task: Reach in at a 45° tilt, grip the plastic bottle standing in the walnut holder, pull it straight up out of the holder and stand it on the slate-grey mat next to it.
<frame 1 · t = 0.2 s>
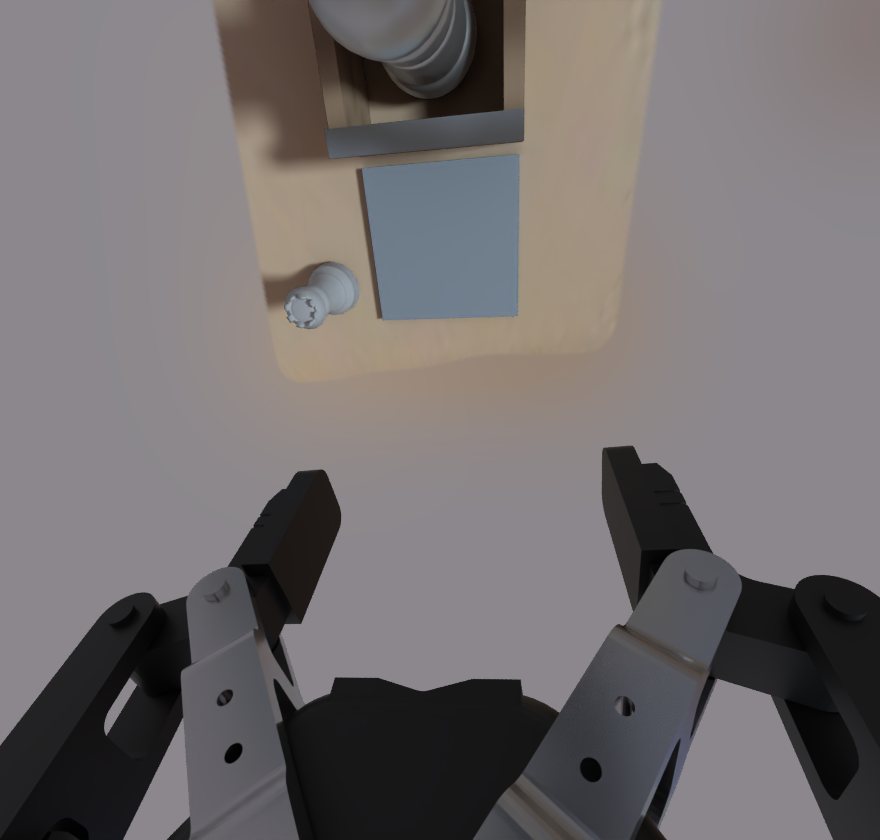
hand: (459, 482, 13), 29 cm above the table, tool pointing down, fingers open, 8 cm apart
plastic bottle: (432, 44, 31), resting in holder
mat: (444, 244, 37), on the table
rook chess piece: (337, 286, 40), on the table
holder: (431, 44, 31), on the table
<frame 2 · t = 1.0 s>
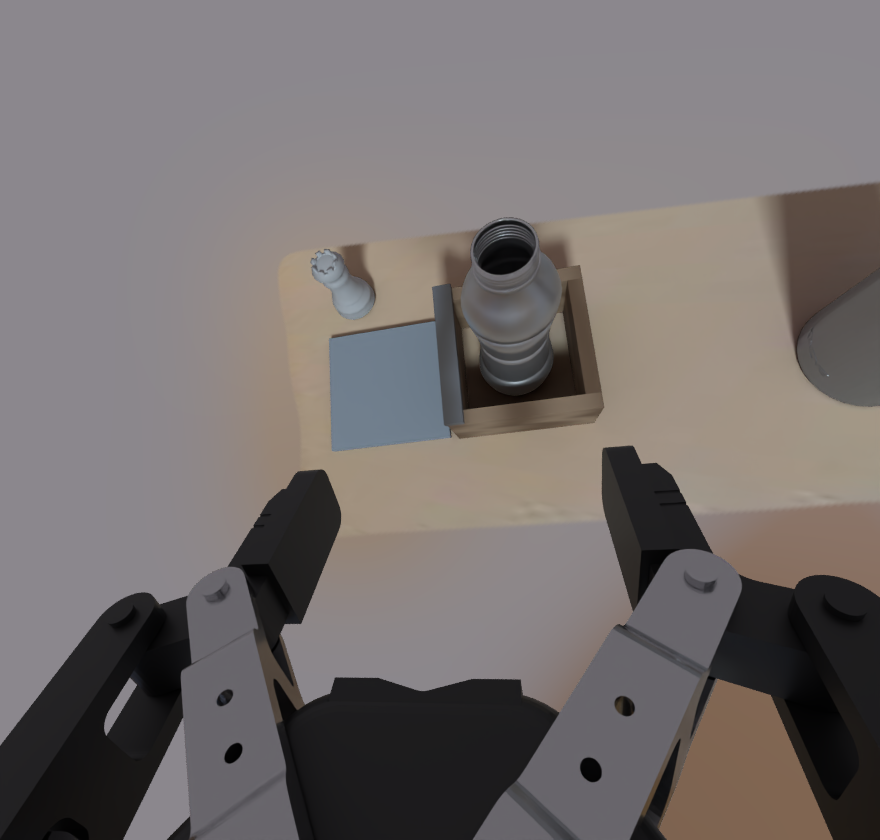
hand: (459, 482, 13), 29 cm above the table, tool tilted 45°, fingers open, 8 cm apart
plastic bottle: (517, 368, 43), resting in holder
mat: (388, 386, 45), on the table
rook chess piece: (357, 303, 48), on the table
holder: (517, 368, 43), on the table
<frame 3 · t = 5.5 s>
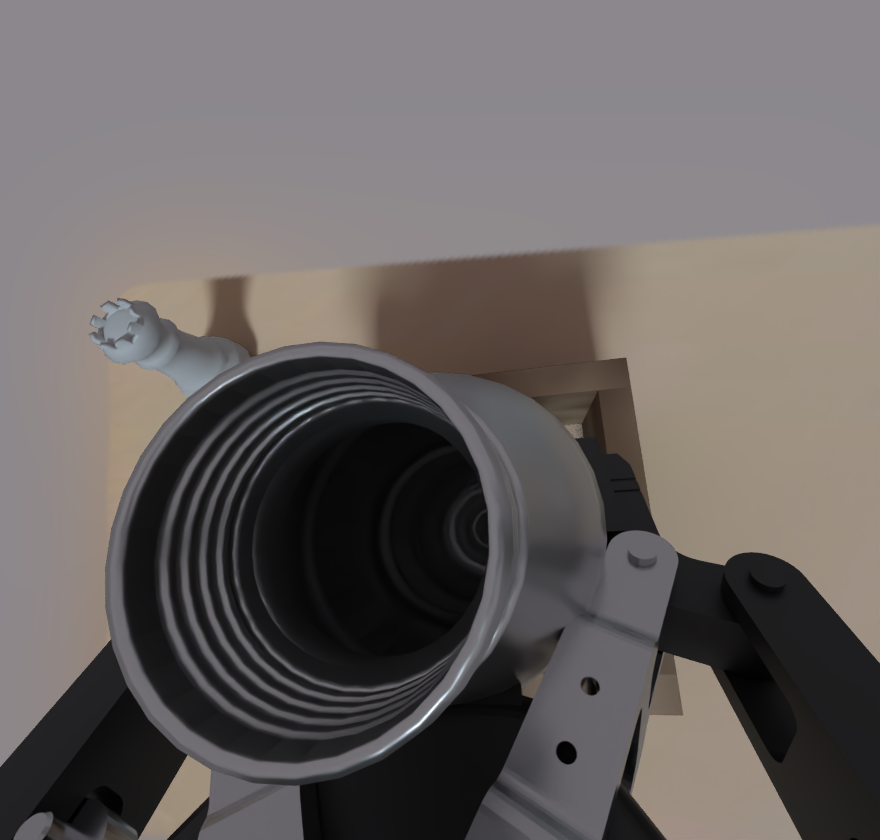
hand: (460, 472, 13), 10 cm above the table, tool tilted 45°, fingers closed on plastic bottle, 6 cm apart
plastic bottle: (493, 527, 23), resting in holder, touching gripper
rook chess piece: (228, 378, 28), on the table
holder: (492, 527, 23), on the table
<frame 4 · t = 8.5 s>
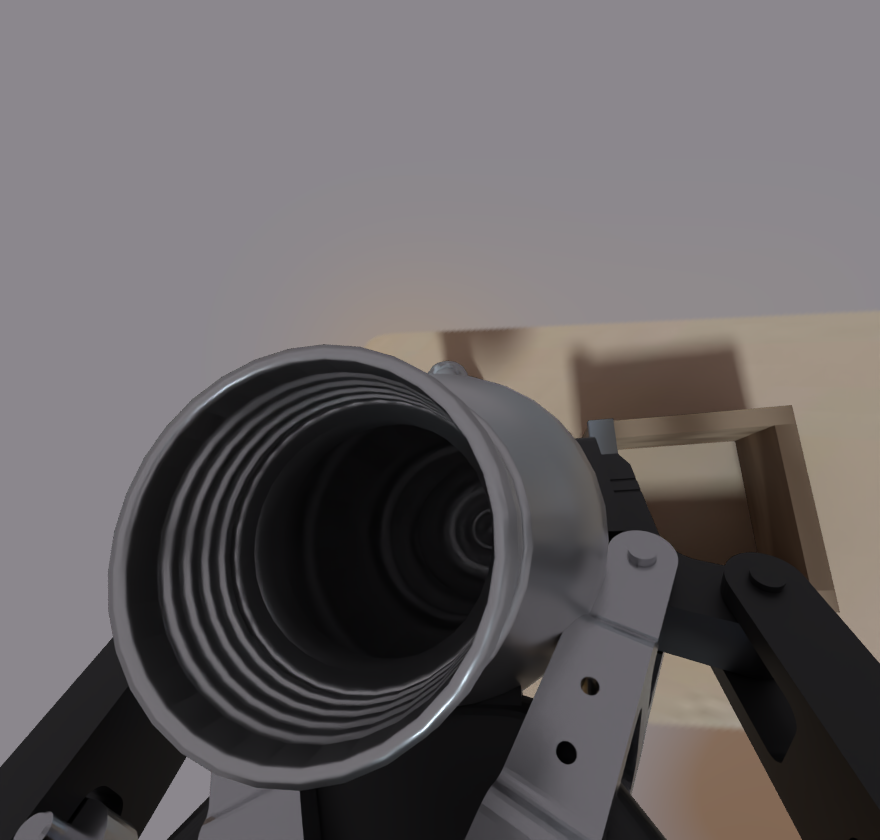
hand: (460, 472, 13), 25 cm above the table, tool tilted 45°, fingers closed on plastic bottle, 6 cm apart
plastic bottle: (493, 528, 23), point 14 cm above the table, touching gripper
rook chess piece: (462, 405, 40), on the table
holder: (675, 510, 34), on the table
when the fingers open (12 cm above the table, at t = 11.5 s): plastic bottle drops 1 cm, resting on mat.
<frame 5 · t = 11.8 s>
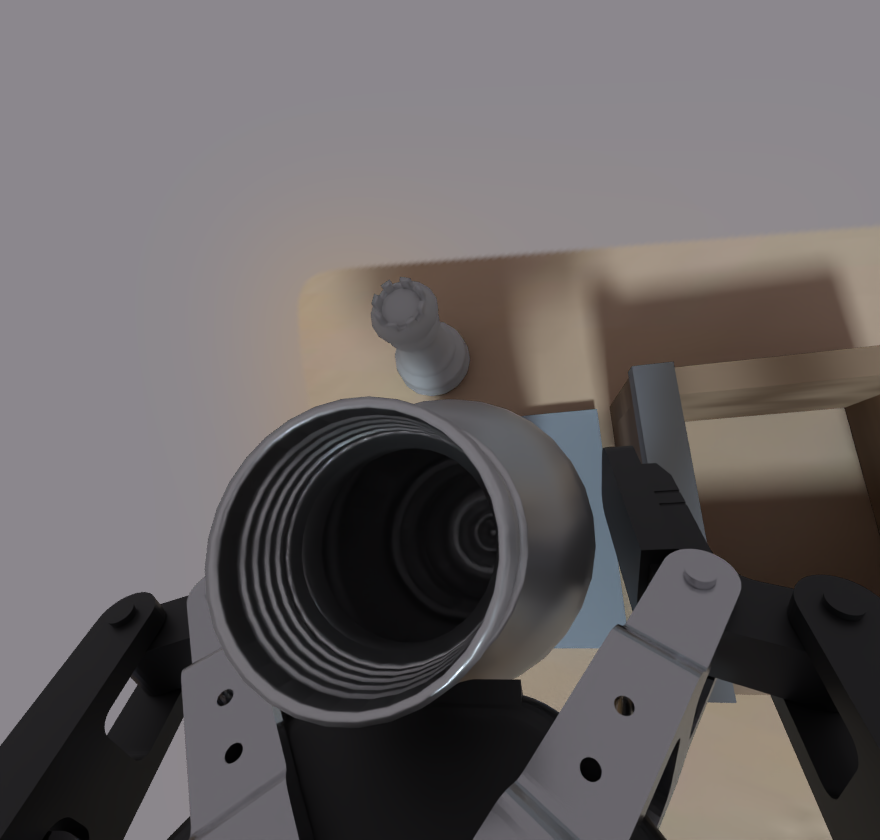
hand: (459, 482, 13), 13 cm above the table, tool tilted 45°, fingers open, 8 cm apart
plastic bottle: (494, 531, 24), resting on mat
mat: (496, 527, 25), on the table
rook chess piece: (435, 364, 28), on the table
holder: (757, 513, 22), on the table
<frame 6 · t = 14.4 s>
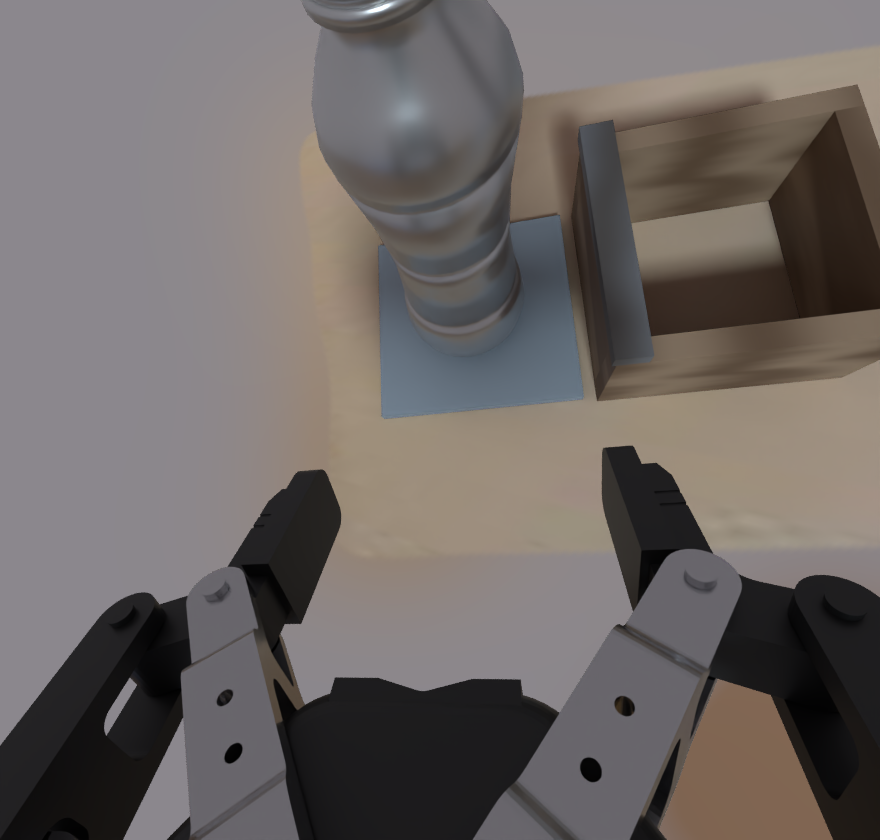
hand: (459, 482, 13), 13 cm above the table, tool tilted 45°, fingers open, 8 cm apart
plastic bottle: (470, 319, 28), resting on mat
mat: (473, 318, 28), on the table
holder: (693, 288, 26), on the table
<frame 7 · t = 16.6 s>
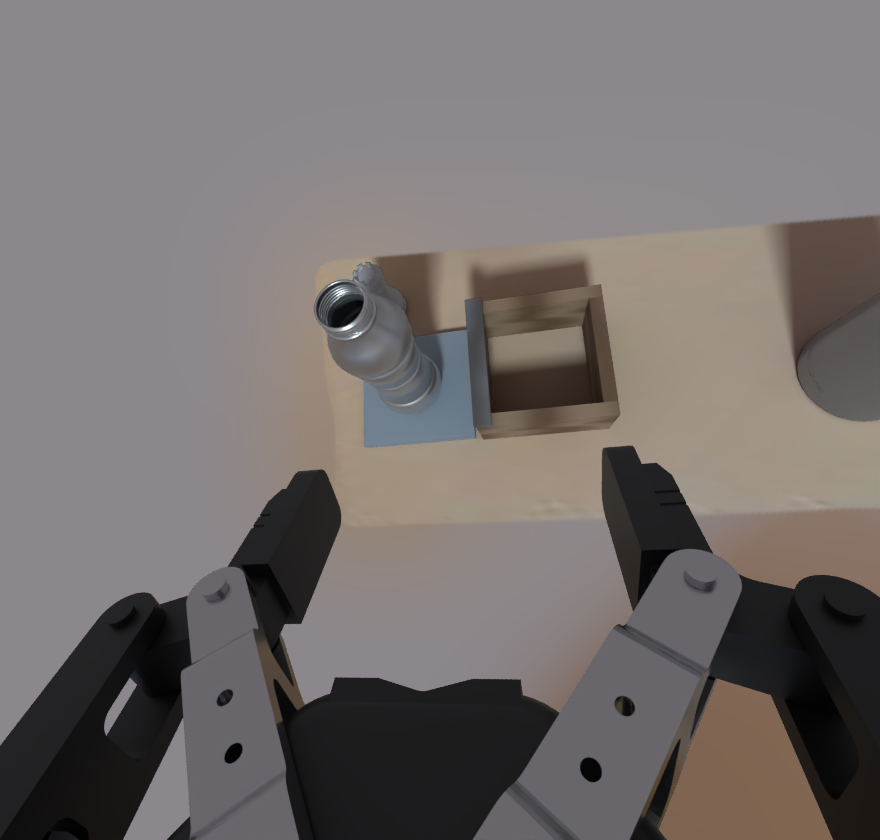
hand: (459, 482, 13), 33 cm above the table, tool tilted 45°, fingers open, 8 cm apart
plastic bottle: (416, 390, 49), resting on mat
mat: (417, 389, 49), on the table
rook chess piece: (390, 310, 52), on the table
holder: (538, 376, 47), on the table
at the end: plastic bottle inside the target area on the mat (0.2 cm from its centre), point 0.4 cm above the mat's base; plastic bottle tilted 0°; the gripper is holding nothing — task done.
